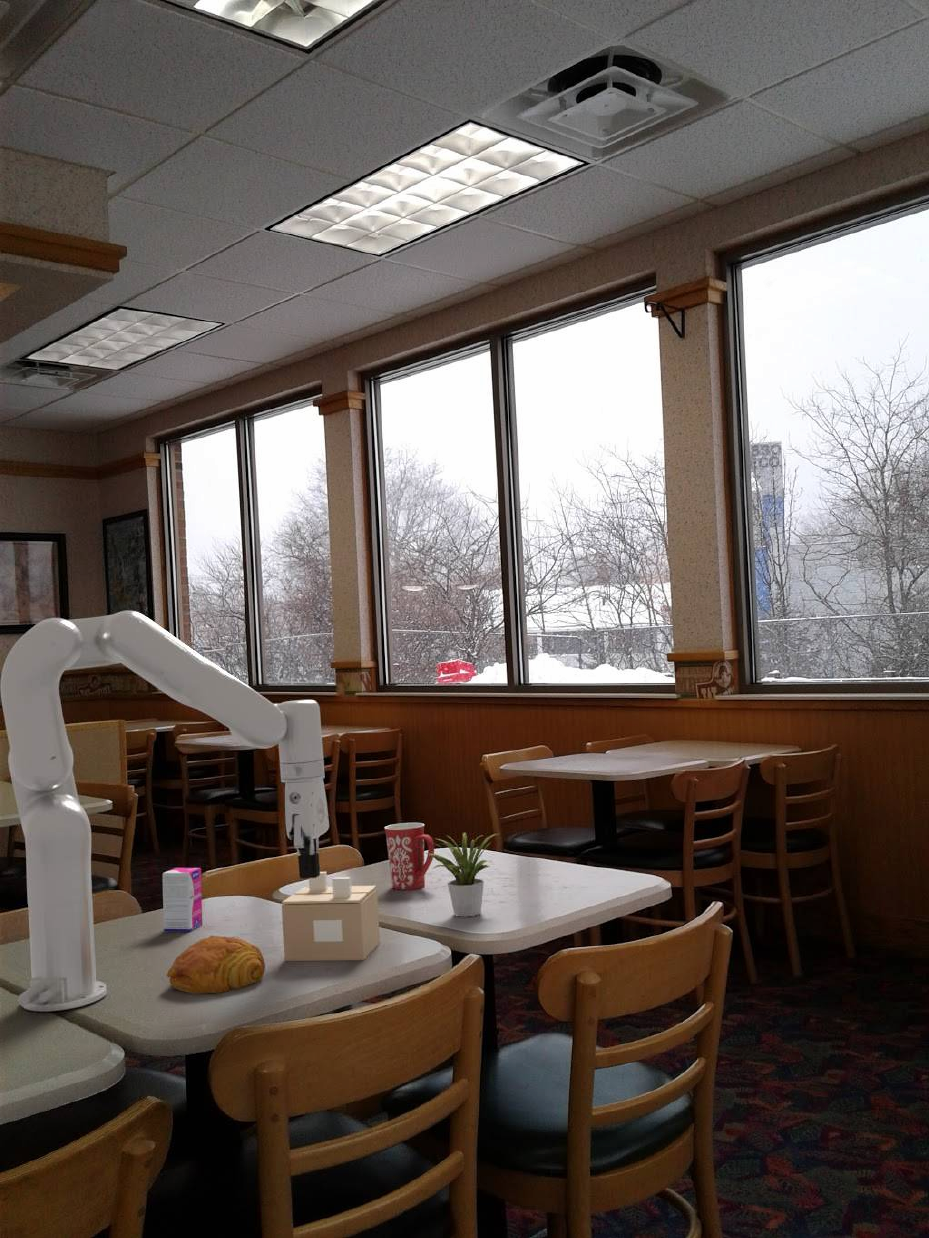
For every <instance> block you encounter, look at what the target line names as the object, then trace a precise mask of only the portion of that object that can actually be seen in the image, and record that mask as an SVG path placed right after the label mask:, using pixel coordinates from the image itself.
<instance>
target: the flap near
mask: <svg viewBox="0 0 929 1238" xmlns="http://www.w3.org/2000/svg"><path fill="white" fill-rule="evenodd" d="M351 878H352V877H351V876H350V877H349V876H347V877H346V876H344V877H342V876H341V877H332V879H331V882H332V884H331V885H332V887H333V894H315V895H294V894H291V895H290V896H288V897H287V898H286V899H284V900H283V901H282V904H281V905H283V904H315V903H359V902H361V901H362V900H363V899H364V898H365V897H366V896H367V893H363V894H351V886H352V881H351Z"/></svg>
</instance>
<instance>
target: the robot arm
mask: <svg viewBox="0 0 929 1238" xmlns="http://www.w3.org/2000/svg"><path fill="white" fill-rule="evenodd" d="M6 656H7V657H6V658H5V661H4V664H3V666H2V670H1V675H0V698H1V699H0V700H1V705H2V712H3V717H4V723H5V724H4V725H5V729H6V734H7V738H8V744H9V752H8V756H7V757H8V762H7V763H8V769H9V774H10V778H11V779H10V780H11V784H12V788H13V793H14V798H15V802H16V806H17V811H18V815H19V820H20V824H21V825H20V826H21V828H22V834H23V836H24V841H25V855H26V856H25V858H26V859H25V860H26V861H25V862H26V891H27V905H28V909H27V910H28V925H29V926H28V929H29V930H28V931H29V946H30V947H29V949H30V953H29V954H30V972H31V973H30V974H31V979H30V980H29V988H28V990H25V991H23V992H22V993H20V994H19V995H18V996H17V1003H18V1005H19V1006H21V1007H22V1008H23V1009H25V1010H28V1011H31V1012H40V1013H41V1012H42V1013H43V1012H45V1013H46V1012H57V1011H65V1010H71V1009H77V1008H81V1007H84V1006H87V1005H90V1004H92V1003H95V1002H97V1001H100V1000H101V999H103V998H104V997H105V996H106V995H107V993H108V989H107V987H108V986H107V985H106V983H104V982H103V981H98V980H97V976H96V975H97V972H96V968H97V967H96V949H95V930H94V929H95V928H94V927H95V926H94V908H93V905H94V904H93V891H92V888H93V887H92V828H91V823H90V819H89V817H88V814H87V811H85V809H84V808H83V806H82V805H81V804H80V800H79V799H80V798H79V795H78V794H79V793H78V790H77V786H76V781H75V775H74V770H73V767H74V753H73V749H72V747H71V744H70V741H69V738H68V733H67V728H66V725H65V720H64V716H63V710H62V704H61V697H60V689H59V688H60V681H61V677H62V675H63V673H64V672H65V671H71V670H79V669H80V670H81V669H87V668H96V667H104V666H111V665H116V664H122V666H125V667H126V668H128V669H129V670H131V671H132V672H133V673H135V674H137V675H138V676H139V677H141V678H142V679H144V680H145V681H147V682H148V683H150V684H151V685H152V686H154V687H155V688H157V689H159V690H160V691H161V692H163V693H164V694H165V695H167V696H168V697H170V698H171V699H173V700H175V701H177V702H178V703H180V704H182V705H185V706H187V707H190V708H193V709H195V710H198V711H200V712H202V713H204V714H205V715H207V716H209V717H211V718H213V719H214V720H216V721H217V722H219V723H221V724H222V725H223V726H225V727H226V728H228V729H229V732H230V734H231V736H232V738H233V739H234V740H235V741H236V742H238V743H239V744H241V745H242V746H247V747H251V748H256V749H270V748H273V747H275V746H277V745H278V755H279V769H280V782H281V783H284V810H285V811H284V814H285V815H284V817H285V818H284V819H285V829H286V830H285V831H286V836H287V838H288V839H289V840H291V841H293V847H294V849H296V851H297V853H296V854H297V859H298V860H297V861H298V873H299V878H300V879H309V878H316V877H318V876H319V875H320V872H321V870H320V869H321V868H320V857H319V850H320V849H319V848H320V847H319V838H320V836H322V835H324V834H325V833H326V832H327V831H328V830H329V828H330V820H329V812H328V801H327V796H326V790H325V789H326V788H325V782H324V779H325V777H326V776H325V764H324V763H325V760H324V749H323V748H324V747H323V736H322V723H321V722H322V721H321V720H322V719H321V708H320V705H319V703H318V702H317V701H316V700H314V699H299V700H297V699H296V700H289V701H283V702H281V703H273V702H271V701H270V699H269V700H268V699H267V698H266V697H264V696H263V695H261V694H260V693H259V692H258V691H256V690H255V689H253V688H252V687H250V686H249V685H248V684H246V683H245V682H242V681H241V680H240V679H238V678H236V677H235V676H233V675H231V674H230V673H228V672H227V671H226V670H224V669H222V668H221V667H219V666H218V664H215V663H214V662H212V661H211V660H209V659H207V658H206V657H204V656H203V655H201V654H200V653H199V652H198V651H196V650H194V649H193V648H191V647H190V646H189V645H187V644H186V643H184V642H183V641H181V640H180V639H178V638H177V637H175V636H174V635H173V634H171V633H170V632H169V631H167V630H166V629H164V628H163V627H161V625H159V624H157V623H156V622H155V621H153V620H152V619H150V618H149V617H147V616H145V615H144V614H142V613H140V612H139V611H136V610H122V611H121V610H120V611H119V612H116V613H113V614H108V615H101V616H93V617H86V618H85V617H84V618H75V619H65V618H60V617H51V618H46V619H43V620H42V621H40V622H38V623H37V624H35V625H34V626H33V627H31V628H30V629H29V630H27V631H26V632H25V633H24V634H22V636H21V637H20V638H19V639H18V640H17V641H16V642H15V644H14V645H13V646H12V648H11V649H10V650H9V653H8V654H7V655H6Z"/></svg>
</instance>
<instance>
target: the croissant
mask: <svg viewBox="0 0 929 1238" xmlns="http://www.w3.org/2000/svg"><path fill="white" fill-rule="evenodd" d="M265 963H266V962H265V958H264V954H263V953H262V952H261V950H260V949H259V947H257V946H256V945H254V944H251V943H250V942H248V941H246V940H244V939H242V938H238V937H234V936H229V937H228V936H217V935H216V936H213V935H211V936H208V937H204V938H201V939H199V940H198V941H196V942H195V943H193V944H192V945H189V946H188V947H187V948H186V949H185V950H184V951H183V952H181V953H180V954H179V955H178V956H177V957H176V958H175V959H174V962H173V963H172V965H171V967H170V968H169V969H168V971H167V974H166V977H167V978H169V981H168V982H169V983H170V986H172V987H173V988H174V989H176V990H179V991H180V992H186V993H189V994H195V995H197V994H199V995H200V994H221V993H227V992H230V990H233V989H234V990H235V989H236V990H238V989H240V988H244V987H246V986H250V985H253V984H256V983H258V982H260V981H261V979H262V978H263V976H264V973H265V971H266V970H265V969H266V964H265Z"/></svg>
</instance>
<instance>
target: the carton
mask: <svg viewBox="0 0 929 1238" xmlns="http://www.w3.org/2000/svg"><path fill="white" fill-rule="evenodd" d="M378 901H379V900H378V889H377V888H375V889H374V890H373V891H372V892H371V893H370V894H367V896H366V897H365V898H364V899H363V900H362V901H361V902H359V903H315V904H281V916H282V917H281V918H282V933H283V934H282V935H283V953H284V962H296V961H298V962H299V961H302V962H303V961H305V962H309V961H314V962H315V961H365V960H366V958H367V957H368V956H370V954H371V953H372V952H373V951H374V949H375V948H376V947H377V946H378V945H380V943H381V939H380V937H381V936H380V923H379V922H380V920H379V903H378Z"/></svg>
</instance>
